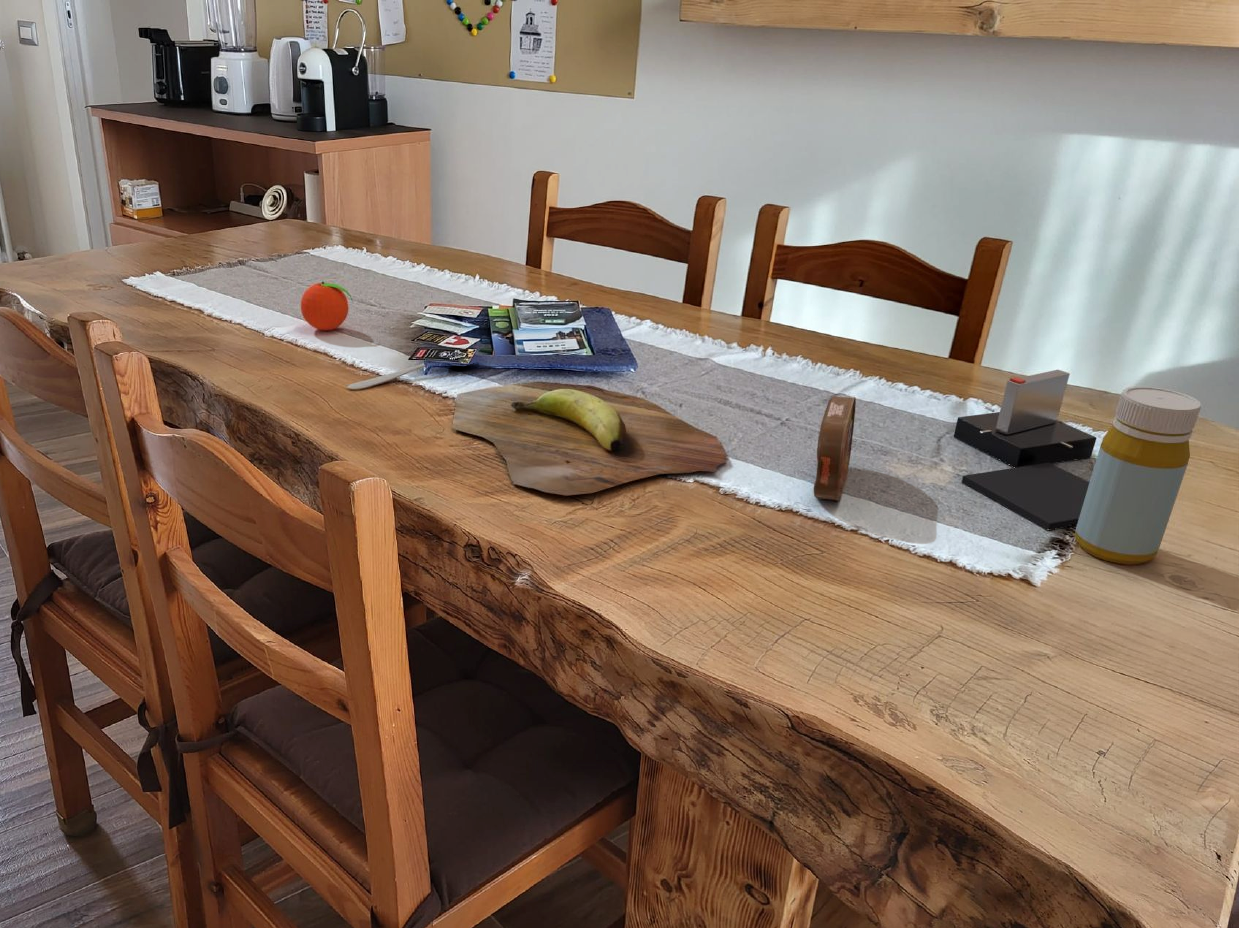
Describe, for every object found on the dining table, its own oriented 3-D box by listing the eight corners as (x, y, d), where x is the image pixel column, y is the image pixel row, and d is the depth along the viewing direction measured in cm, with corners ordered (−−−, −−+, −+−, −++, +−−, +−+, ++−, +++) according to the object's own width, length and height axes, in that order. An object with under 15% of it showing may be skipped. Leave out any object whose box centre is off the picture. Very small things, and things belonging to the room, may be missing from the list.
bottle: (1057, 533, 100) (1100, 385, 93) (1125, 531, 101) (1172, 384, 94) (1100, 568, 94) (1149, 412, 87) (1171, 566, 95) (1225, 411, 88)
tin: (836, 514, 102) (850, 435, 98) (804, 509, 103) (817, 430, 99) (850, 460, 115) (863, 388, 111) (821, 455, 116) (833, 383, 112)
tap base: (1022, 421, 128) (1027, 401, 126) (1109, 462, 117) (1116, 440, 116) (936, 433, 123) (941, 412, 122) (1019, 476, 112) (1025, 453, 111)
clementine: (363, 326, 156) (360, 278, 153) (346, 338, 150) (344, 289, 147) (312, 321, 157) (309, 274, 154) (294, 334, 151) (291, 285, 148)
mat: (1047, 469, 114) (1049, 462, 114) (1138, 514, 104) (1141, 507, 104) (961, 482, 110) (962, 475, 110) (1047, 530, 100) (1049, 523, 100)
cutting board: (765, 466, 113) (770, 433, 111) (548, 514, 100) (550, 477, 98) (593, 373, 140) (595, 345, 138) (405, 401, 127) (405, 371, 125)
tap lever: (1044, 418, 122) (1058, 367, 119) (1056, 422, 120) (1070, 371, 118) (994, 430, 117) (1007, 378, 115) (1006, 435, 116) (1020, 382, 113)
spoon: (490, 366, 141) (491, 354, 140) (355, 393, 129) (355, 381, 128) (473, 358, 144) (473, 347, 143) (340, 384, 132) (339, 372, 131)
